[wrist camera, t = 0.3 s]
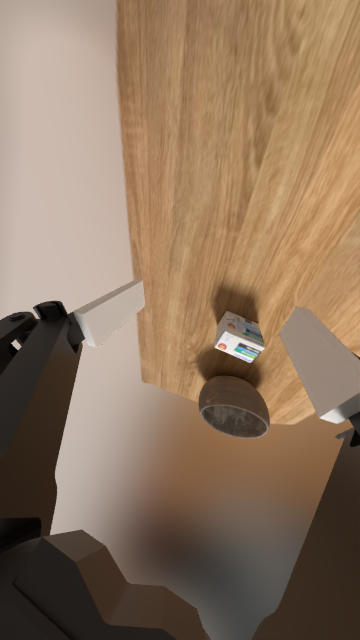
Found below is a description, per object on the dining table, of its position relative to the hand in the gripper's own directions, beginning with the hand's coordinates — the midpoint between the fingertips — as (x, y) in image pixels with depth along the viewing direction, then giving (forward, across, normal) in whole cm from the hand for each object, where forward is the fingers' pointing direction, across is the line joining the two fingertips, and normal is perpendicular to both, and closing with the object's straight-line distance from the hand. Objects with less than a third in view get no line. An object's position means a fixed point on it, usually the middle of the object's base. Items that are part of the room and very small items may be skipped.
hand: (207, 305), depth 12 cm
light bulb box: (+28, +9, -19) cm, 35 cm away
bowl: (+28, +15, -50) cm, 59 cm away
